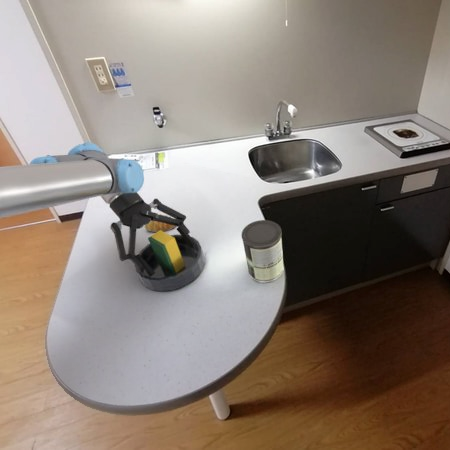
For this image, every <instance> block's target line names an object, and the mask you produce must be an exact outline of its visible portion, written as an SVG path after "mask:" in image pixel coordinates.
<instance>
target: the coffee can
mask: <svg viewBox="0 0 450 450" xmlns="http://www.w3.org/2000/svg"><path fill="white" fill-rule="evenodd" d="M282 234H283V233H282V227H281V226H280V225H279V224H278V223H276V222H274V221H272V220H267V219H262V220H255V221H252V222H250V223H248V224H246V226H244V227H243V229H242V231H241V240H242V243H243V249H244V253H245V259H246V266H247V273H248V275H249V277H250V278H251V280H253V281H255V282H257V283H260V284H267V283H272V282H275V281H276V280H278V279H279V278H281V276H282V275H283V273H284V269H285V266H284V254H283V239H282Z"/></svg>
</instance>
